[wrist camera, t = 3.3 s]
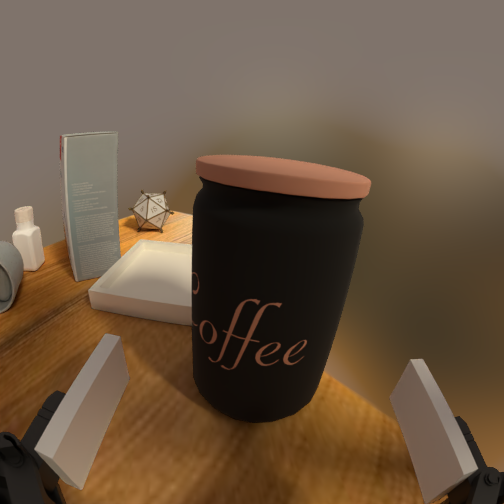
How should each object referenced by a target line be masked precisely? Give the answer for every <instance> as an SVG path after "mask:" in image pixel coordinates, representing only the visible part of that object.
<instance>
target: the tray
mask: <svg viewBox="0 0 504 504" xmlns="http://www.w3.org/2000/svg"><path fill="white" fill-rule="evenodd" d="M88 292H89V298H90V303H91V308H92V309H97V310H102V311H107V312H112V313H117V314H122V315H127V316H133V317H138V318H144V319H150V320H155V321H162V322H168V323H174V324H181V325H188V326H192V245H191V244H181V243H171V242H162V241H152V240H142V239H140V240H139V241H138V242H137V243H136V244H135V245H134V246H133V247H132V248H131V249H130V250H129V251H127V252H126V253H125V254H124V255H123V256H122V257H121V258H120V259H119V260H118V261H117V262H116V263H115V264H114V265H113V266H112V267H111V268H110V269H109V270H108V271H107V272H106V273H105V274H104V275H103V276H102V277H101V278H100V279H99V280H98V281H97V282H96V283H95V284H94V285H93V286H92V287H91V288H90V289H89V290H88Z"/></svg>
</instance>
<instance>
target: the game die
mask: <svg viewBox="0 0 504 504" xmlns="http://www.w3.org/2000/svg"><path fill="white" fill-rule="evenodd" d="M141 192H142V195H141V197H140V198H139V200H138V201H137V203H136V204H135V205H134V207H133V208H129V210H132V211H133V213H134V215H135V218H136V220H137V223H138V225H139V228H138V231H140V229H141V228H143V229H160V231H161V232H162V233H163V230H162V229H161V228H162V227H163V225H164V223H165V222H166V220H167V218H168V217H169V215H170V214H172V215H173V214H174V213H173V212H170V209H169V206H168V204H167V201H166V198H165V195H164V194H165V193H166V191H164V192H163V194H158V193H157V194H156V193H144V192H143V190H141Z"/></svg>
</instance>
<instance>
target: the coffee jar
mask: <svg viewBox="0 0 504 504" xmlns="http://www.w3.org/2000/svg"><path fill="white" fill-rule="evenodd" d="M196 174H197V175H199V176H200V177H199V178H200V179H201V181H202V183H203V188H202V189H201V190H200V191H199V192H198V194H197V196H196V199H195V202H194V206H193V227H192V352H193V377H194V380H195V382H196V385H197V387H198V390H199V392H200V393H201V395H202V396H203V397H204V398H205V399H206V400H207V401H208V402H209V403H210V404H211V405H212V406H213V407H214V408H215V409H217V410H219V411H220V412H222V413H224V414H226V415H228V416H230V417H232V418H234V419H238V420H242V421H247V422H252V423H259V422H273V421H276V420H279V419H282V418H285V417H288V416H291V415H294V414H295V413H296V412H298V411H299V410H300V409H301V408H303V407H304V406H305V405H307V404H308V403H309V402H310V401H311V399H312V397H313V395H314V393H315V392H316V390H317V387H318V385H319V382H320V379H321V376H322V374H323V371H324V368H325V365H326V362H327V359H328V356H329V353H330V350H331V347H332V344H333V340H334V337H335V334H336V331H337V327H338V324H339V321H340V317H341V314H342V311H343V307H344V304H345V299H346V296H347V293H348V289H349V285H350V281H351V277H352V273H353V269H354V265H355V261H356V257H357V253H358V248H359V244H360V239H361V235H362V230H363V217H362V215H361V213H360V211H359V203H360V201H361V200H362V199H363V198H364V197H365V196H367V195H368V193H369V189H370V186H371V181H370V180H369V179H368V178H366V177H365V176H362V175H359V174H356V173H353V172H350V171H346V170H342V169H338V168H334V167H329V166H324V165H319V164H314V163H308V162H302V161H295V160H288V159H279V158H271V157H260V156H244V155H208V156H202V157H199V158H198V159H197V160H196Z"/></svg>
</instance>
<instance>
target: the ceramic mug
mask: <svg viewBox="0 0 504 504" xmlns="http://www.w3.org/2000/svg"><path fill="white" fill-rule="evenodd" d="M23 269H24V264H23V259H22V256H21V254H20V252H19V251H18V249H17V248H16V247H15V246H14V245H13V244H11V243H9V242H7V241H0V313H3V312H5V311H6V310H8V309H9V308H10V306H11V305H12V303H13V301H14V298H15V295H16V293H17V290H18V287H19V284H20V282H21V280H22V277H23Z"/></svg>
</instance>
